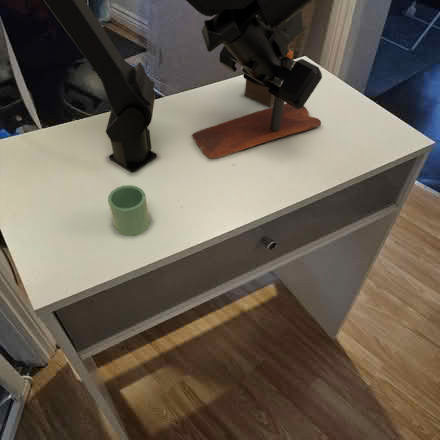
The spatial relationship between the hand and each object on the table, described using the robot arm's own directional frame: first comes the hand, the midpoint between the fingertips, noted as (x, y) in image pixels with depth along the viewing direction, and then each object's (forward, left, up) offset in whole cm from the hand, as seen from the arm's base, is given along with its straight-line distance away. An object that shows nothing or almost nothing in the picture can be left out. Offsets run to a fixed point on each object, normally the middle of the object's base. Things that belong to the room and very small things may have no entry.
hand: (285, 90), depth 72 cm
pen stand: (+11, +10, -9) cm, 17 cm away
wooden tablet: (-2, +4, -9) cm, 10 cm away
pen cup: (-36, +4, -9) cm, 38 cm away
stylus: (-1, 0, -7) cm, 7 cm away
